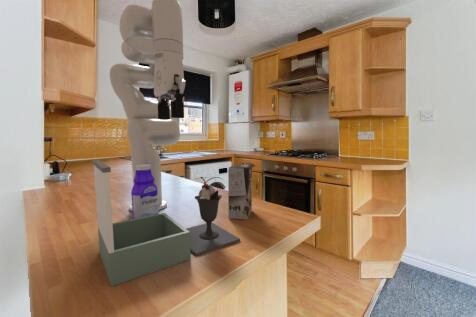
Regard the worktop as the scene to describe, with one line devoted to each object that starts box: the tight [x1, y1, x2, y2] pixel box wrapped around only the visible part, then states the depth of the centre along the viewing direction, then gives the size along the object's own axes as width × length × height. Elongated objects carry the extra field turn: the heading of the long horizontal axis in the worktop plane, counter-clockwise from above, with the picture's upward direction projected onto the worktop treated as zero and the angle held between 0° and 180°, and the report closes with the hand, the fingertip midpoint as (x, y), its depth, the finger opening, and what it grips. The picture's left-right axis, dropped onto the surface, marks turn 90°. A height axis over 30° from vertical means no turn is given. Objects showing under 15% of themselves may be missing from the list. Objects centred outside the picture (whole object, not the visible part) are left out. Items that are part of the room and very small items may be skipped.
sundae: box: [194, 176, 223, 240], centre depth 60 cm, size 7×7×15 cm
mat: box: [185, 221, 241, 257], centre depth 61 cm, size 14×12×1 cm
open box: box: [91, 159, 192, 287], centre depth 51 cm, size 15×15×21 cm
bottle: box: [130, 164, 160, 219], centre depth 70 cm, size 7×6×17 cm
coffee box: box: [227, 163, 253, 220], centre depth 77 cm, size 9×6×16 cm
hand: (170, 118), depth 63 cm, fingers open, 9 cm apart
